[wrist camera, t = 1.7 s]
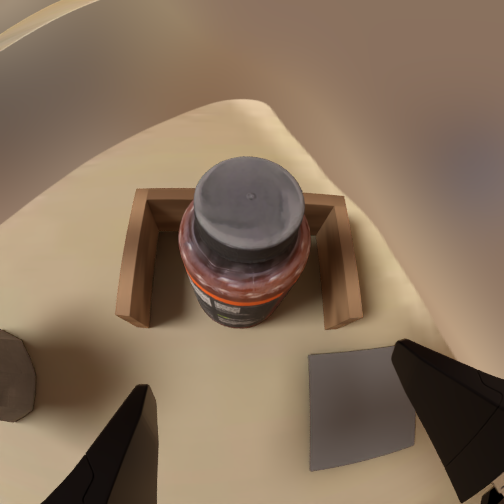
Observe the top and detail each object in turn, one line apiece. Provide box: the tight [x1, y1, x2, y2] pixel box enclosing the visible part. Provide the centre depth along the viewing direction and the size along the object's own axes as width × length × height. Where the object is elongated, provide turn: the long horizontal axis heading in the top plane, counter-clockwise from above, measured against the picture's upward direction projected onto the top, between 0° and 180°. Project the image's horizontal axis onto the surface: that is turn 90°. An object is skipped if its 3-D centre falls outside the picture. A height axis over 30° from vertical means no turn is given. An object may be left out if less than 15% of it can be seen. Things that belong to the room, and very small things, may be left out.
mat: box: [308, 346, 415, 471], centre depth 19 cm, size 10×10×1 cm
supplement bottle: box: [178, 156, 311, 328], centre depth 17 cm, size 7×7×13 cm
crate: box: [115, 188, 363, 330], centre depth 21 cm, size 10×16×5 cm, turn 91°
